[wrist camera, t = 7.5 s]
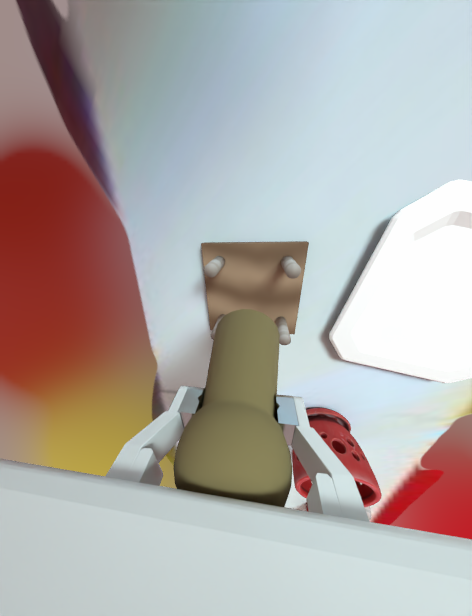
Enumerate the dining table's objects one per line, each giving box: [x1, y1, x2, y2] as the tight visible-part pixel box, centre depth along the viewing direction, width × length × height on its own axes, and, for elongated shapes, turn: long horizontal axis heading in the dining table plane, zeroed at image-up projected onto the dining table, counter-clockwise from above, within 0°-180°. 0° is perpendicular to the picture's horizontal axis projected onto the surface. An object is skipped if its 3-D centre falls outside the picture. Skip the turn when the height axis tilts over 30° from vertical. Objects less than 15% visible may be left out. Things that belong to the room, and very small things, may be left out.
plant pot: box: [292, 408, 381, 507], centre depth 34 cm, size 13×13×12 cm
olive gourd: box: [174, 309, 292, 507], centre depth 11 cm, size 6×6×11 cm
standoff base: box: [201, 242, 309, 345], centre depth 24 cm, size 14×14×6 cm
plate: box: [329, 180, 472, 383], centre depth 23 cm, size 25×25×2 cm
